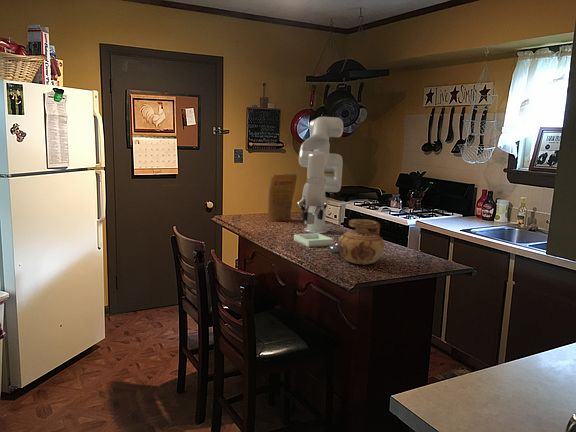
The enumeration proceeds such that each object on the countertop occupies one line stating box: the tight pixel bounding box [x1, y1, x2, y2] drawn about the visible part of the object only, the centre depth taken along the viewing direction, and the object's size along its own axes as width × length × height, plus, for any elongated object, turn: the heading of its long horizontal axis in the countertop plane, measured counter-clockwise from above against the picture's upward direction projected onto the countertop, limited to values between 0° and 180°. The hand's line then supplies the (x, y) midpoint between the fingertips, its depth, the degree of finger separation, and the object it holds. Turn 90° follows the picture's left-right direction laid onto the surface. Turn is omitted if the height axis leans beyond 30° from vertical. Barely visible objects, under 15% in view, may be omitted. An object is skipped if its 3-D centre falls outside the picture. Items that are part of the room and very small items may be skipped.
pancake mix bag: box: [266, 173, 298, 222], centre depth 286 cm, size 7×19×28 cm, turn 120°
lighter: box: [304, 206, 321, 225], centre depth 218 cm, size 7×2×8 cm, turn 115°
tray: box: [293, 233, 335, 248], centre depth 234 cm, size 14×14×3 cm
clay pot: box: [337, 218, 385, 266], centre depth 203 cm, size 19×19×20 cm
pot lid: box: [328, 242, 341, 255], centre depth 220 cm, size 8×8×4 cm
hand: (312, 219), depth 218 cm, fingers closed on lighter, 7 cm apart
